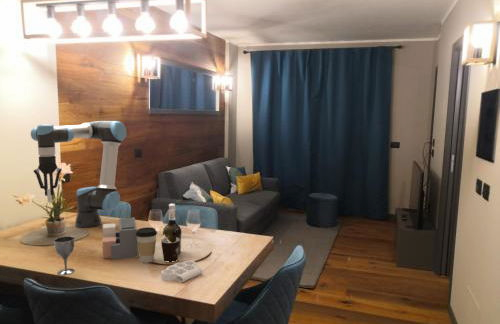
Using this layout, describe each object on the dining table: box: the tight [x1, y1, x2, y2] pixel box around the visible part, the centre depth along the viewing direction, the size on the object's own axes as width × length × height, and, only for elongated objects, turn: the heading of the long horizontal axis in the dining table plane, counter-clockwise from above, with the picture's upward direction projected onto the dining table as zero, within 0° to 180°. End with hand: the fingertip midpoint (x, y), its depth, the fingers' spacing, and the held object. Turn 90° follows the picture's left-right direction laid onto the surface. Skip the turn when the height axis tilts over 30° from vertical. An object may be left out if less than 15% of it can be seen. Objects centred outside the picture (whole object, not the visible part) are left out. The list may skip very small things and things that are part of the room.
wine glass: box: [53, 235, 76, 276], centre depth 177 cm, size 8×8×15 cm
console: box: [111, 216, 139, 260], centre depth 203 cm, size 22×12×15 cm, turn 18°
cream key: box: [102, 223, 117, 239], centre depth 206 cm, size 7×6×12 cm
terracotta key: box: [102, 237, 116, 259], centre depth 197 cm, size 7×6×8 cm
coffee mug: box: [160, 237, 180, 262], centre depth 193 cm, size 12×9×10 cm
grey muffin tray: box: [160, 260, 204, 283], centre depth 176 cm, size 3×18×15 cm
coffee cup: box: [136, 226, 158, 264], centre depth 190 cm, size 10×10×15 cm
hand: (49, 201), depth 204 cm, fingers closed
